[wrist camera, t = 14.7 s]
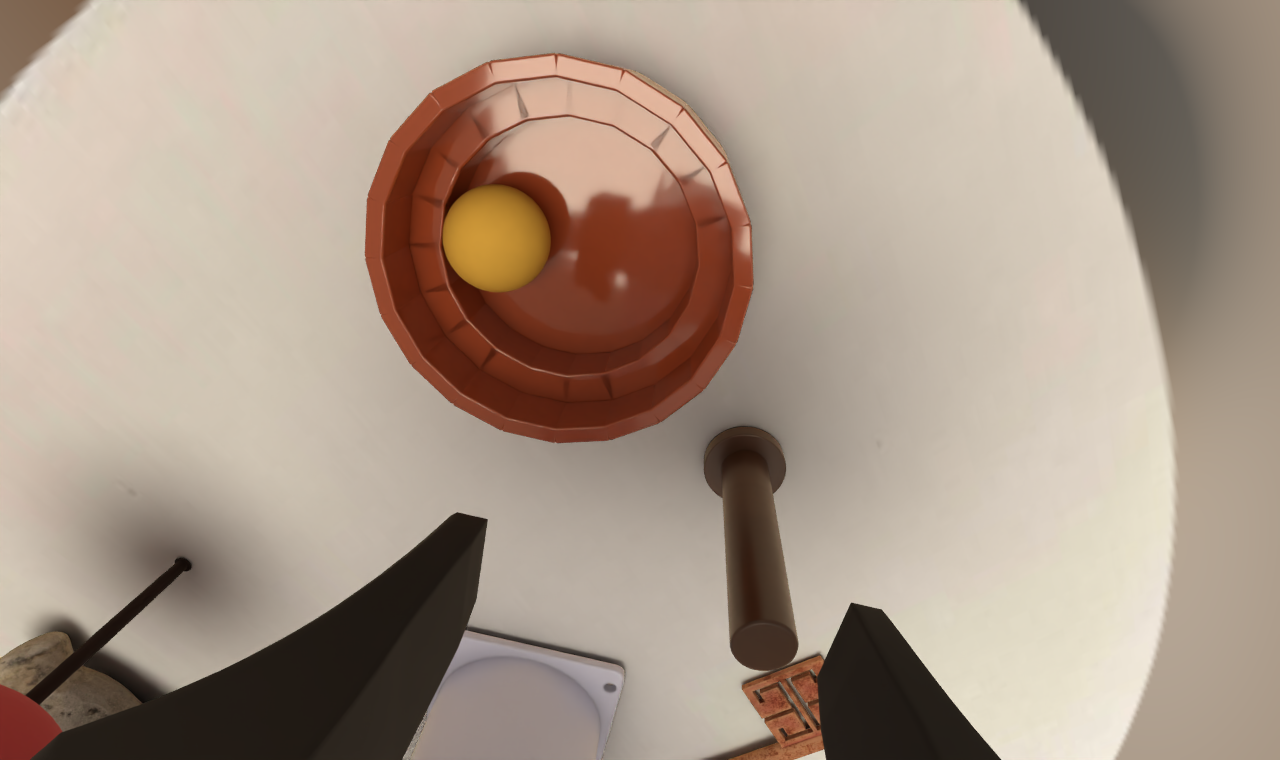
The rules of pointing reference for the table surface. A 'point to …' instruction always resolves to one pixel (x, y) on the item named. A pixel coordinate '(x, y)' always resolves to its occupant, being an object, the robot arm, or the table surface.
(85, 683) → the stone
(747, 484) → the stick
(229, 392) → the table surface
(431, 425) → the table surface
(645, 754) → the table surface
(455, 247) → the ball
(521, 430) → the bowl
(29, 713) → the lollipop
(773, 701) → the key
